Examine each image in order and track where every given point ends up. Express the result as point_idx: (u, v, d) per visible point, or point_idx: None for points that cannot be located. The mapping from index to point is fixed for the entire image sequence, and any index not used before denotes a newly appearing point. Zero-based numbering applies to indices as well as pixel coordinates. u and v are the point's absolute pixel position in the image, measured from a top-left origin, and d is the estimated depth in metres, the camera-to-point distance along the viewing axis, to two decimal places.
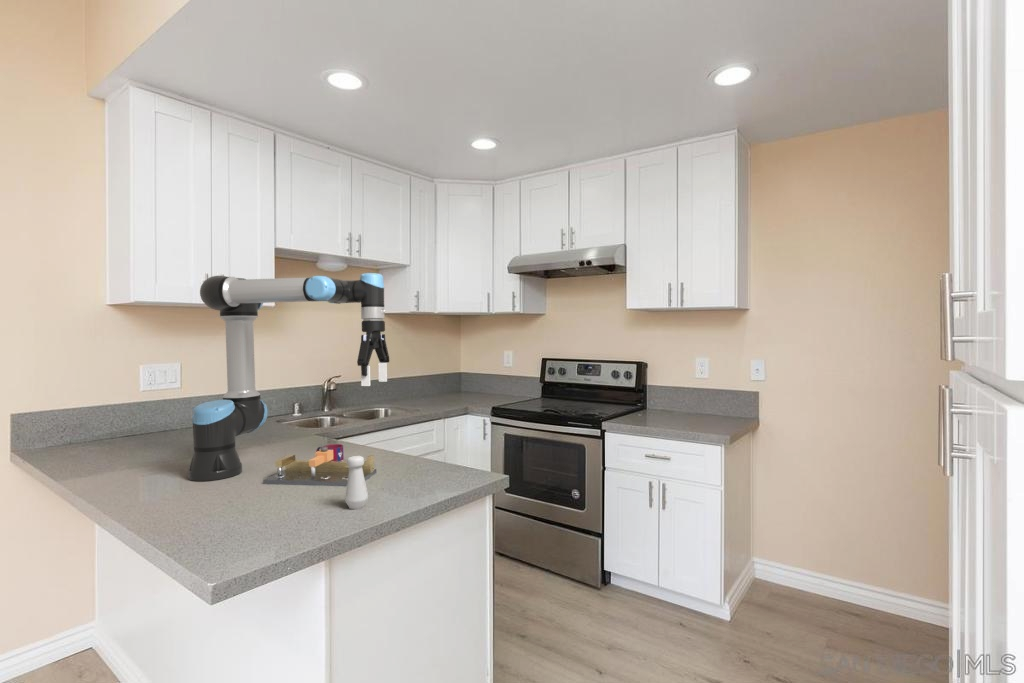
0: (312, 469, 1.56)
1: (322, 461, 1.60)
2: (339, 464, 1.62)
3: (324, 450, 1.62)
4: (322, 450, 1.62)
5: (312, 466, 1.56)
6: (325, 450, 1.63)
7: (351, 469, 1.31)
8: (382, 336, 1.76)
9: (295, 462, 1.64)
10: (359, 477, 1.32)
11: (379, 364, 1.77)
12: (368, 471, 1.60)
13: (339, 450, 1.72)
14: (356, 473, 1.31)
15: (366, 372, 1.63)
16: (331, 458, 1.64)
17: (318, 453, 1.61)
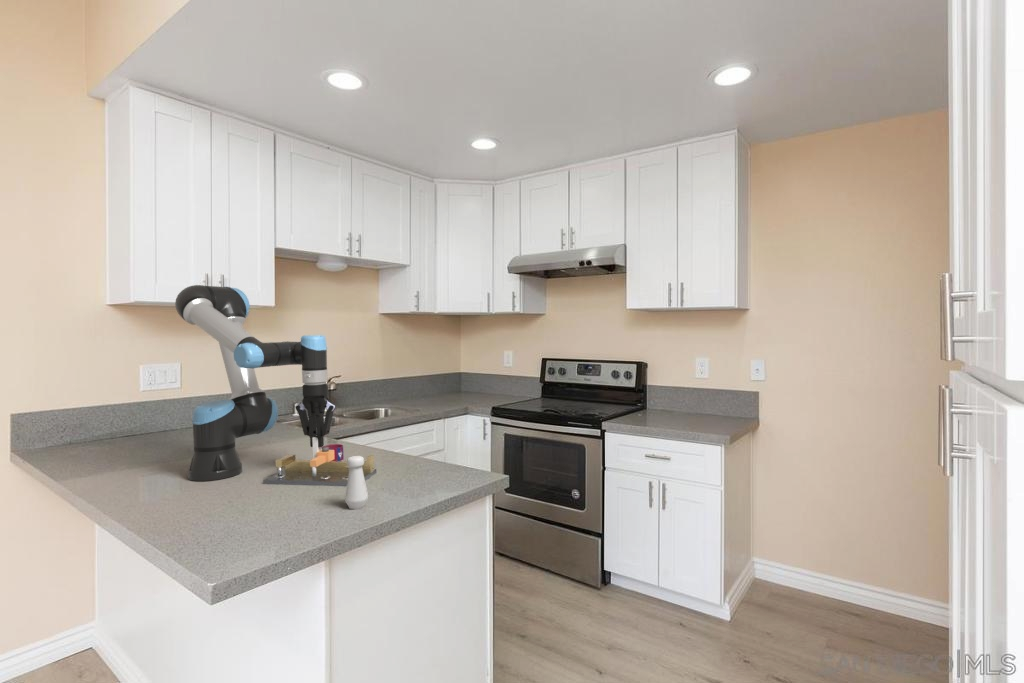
0: (313, 469, 1.56)
1: (323, 461, 1.60)
2: (339, 464, 1.62)
3: (325, 450, 1.62)
4: (323, 450, 1.62)
5: (313, 466, 1.56)
6: (326, 450, 1.62)
7: (351, 469, 1.31)
8: (329, 406, 1.62)
9: (295, 462, 1.64)
10: (359, 477, 1.32)
11: None
12: (368, 471, 1.60)
13: (339, 450, 1.72)
14: (356, 474, 1.31)
15: (311, 443, 1.63)
16: (332, 458, 1.64)
17: (319, 453, 1.61)
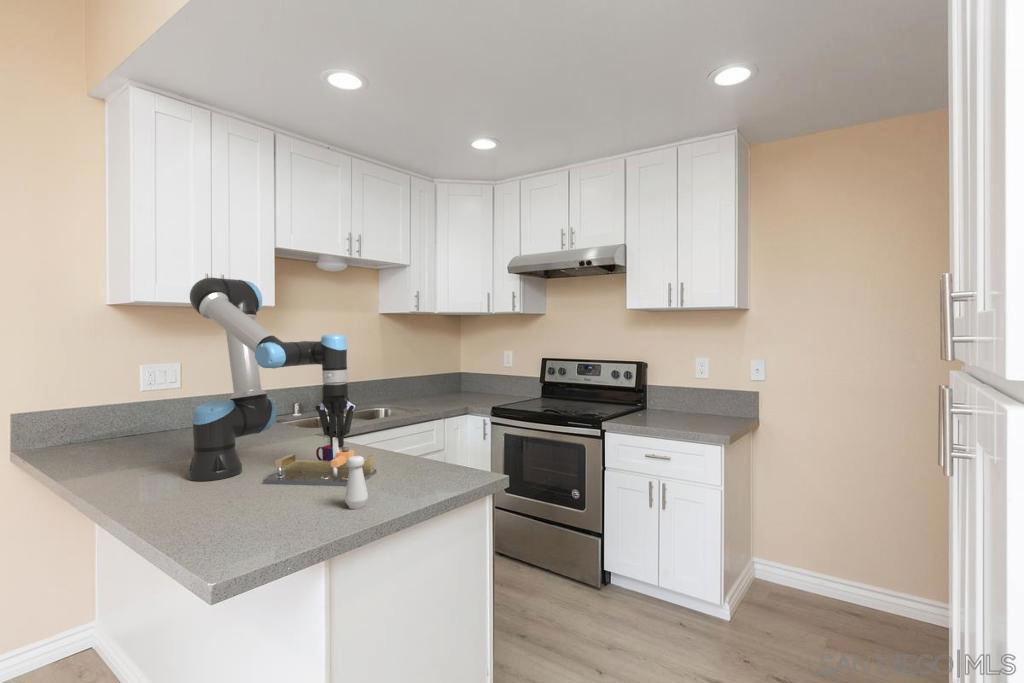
0: (334, 469, 1.55)
1: (344, 461, 1.59)
2: None
3: (345, 450, 1.61)
4: (343, 450, 1.61)
5: (334, 466, 1.55)
6: (346, 450, 1.62)
7: (351, 469, 1.31)
8: (350, 406, 1.61)
9: (295, 462, 1.64)
10: (359, 477, 1.32)
11: None
12: (368, 471, 1.60)
13: None
14: (356, 474, 1.31)
15: (332, 444, 1.62)
16: None
17: (339, 453, 1.60)
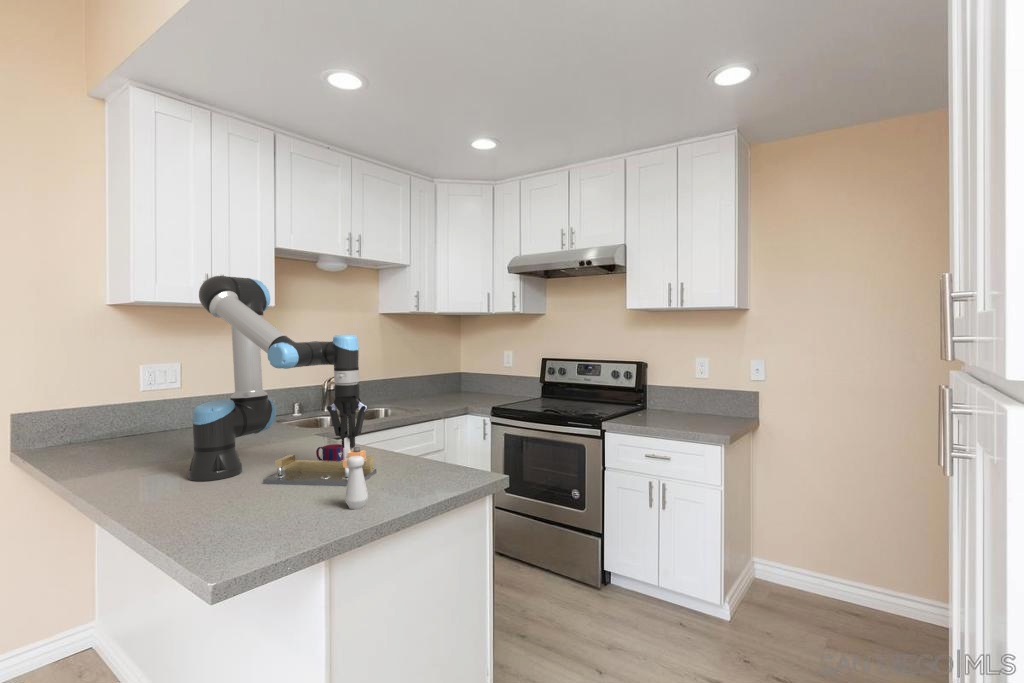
0: (346, 470, 1.54)
1: None
2: (339, 464, 1.62)
3: (357, 451, 1.61)
4: (355, 451, 1.61)
5: (346, 467, 1.54)
6: (358, 451, 1.61)
7: (351, 469, 1.31)
8: (361, 407, 1.60)
9: (295, 462, 1.64)
10: (359, 477, 1.32)
11: None
12: (368, 471, 1.60)
13: (339, 450, 1.72)
14: (356, 473, 1.31)
15: (343, 444, 1.61)
16: (364, 459, 1.62)
17: (351, 454, 1.60)
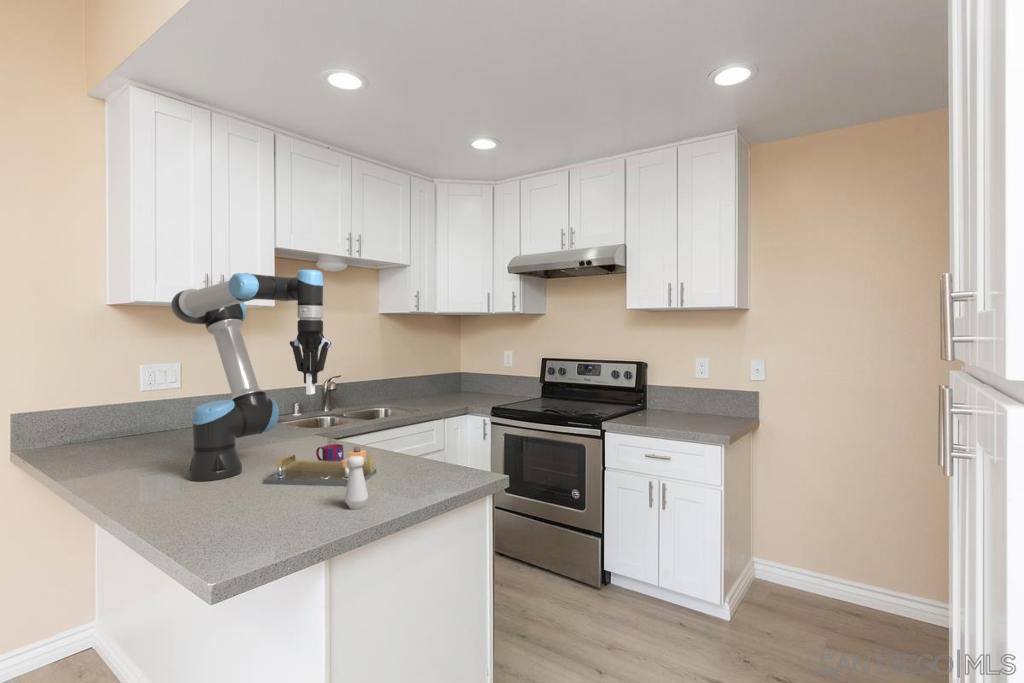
0: (346, 470, 1.54)
1: None
2: (339, 464, 1.62)
3: (357, 451, 1.61)
4: (355, 451, 1.61)
5: (346, 467, 1.54)
6: (358, 451, 1.61)
7: (351, 469, 1.31)
8: (324, 342, 1.60)
9: (295, 462, 1.64)
10: (360, 477, 1.32)
11: None
12: (368, 471, 1.60)
13: (339, 450, 1.72)
14: (356, 473, 1.31)
15: (305, 380, 1.61)
16: (364, 459, 1.62)
17: (351, 454, 1.60)
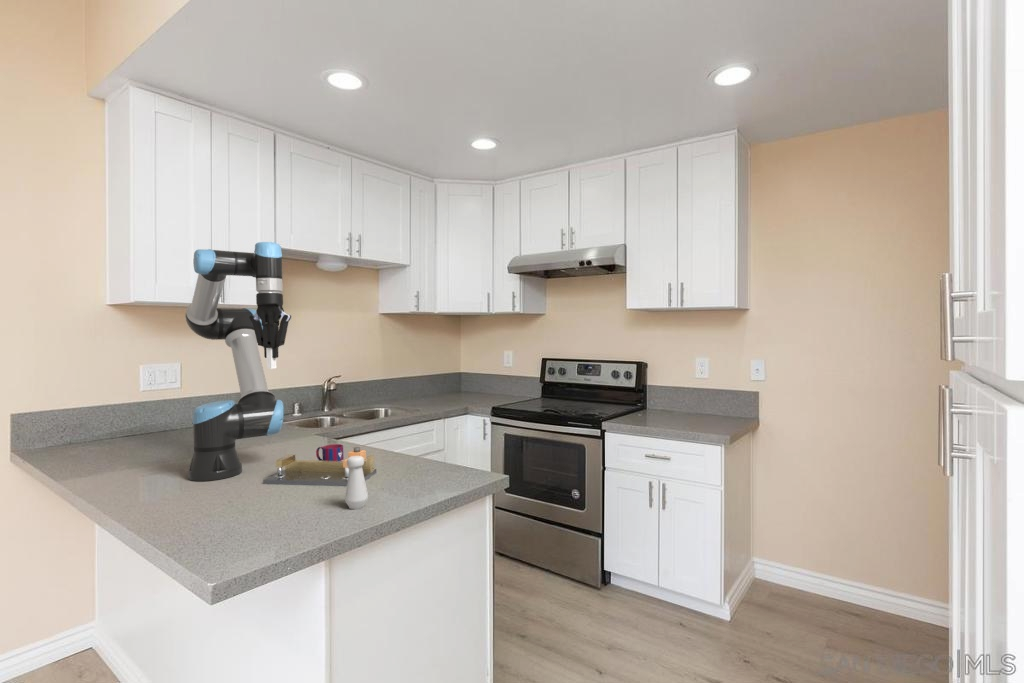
0: (346, 470, 1.54)
1: None
2: (339, 464, 1.62)
3: (357, 451, 1.61)
4: (355, 451, 1.61)
5: (346, 467, 1.54)
6: (358, 451, 1.61)
7: (351, 469, 1.31)
8: None
9: (295, 462, 1.64)
10: (359, 477, 1.32)
11: None
12: (368, 471, 1.60)
13: (339, 450, 1.72)
14: (356, 473, 1.31)
15: (266, 354, 1.59)
16: (364, 459, 1.62)
17: (351, 454, 1.60)
